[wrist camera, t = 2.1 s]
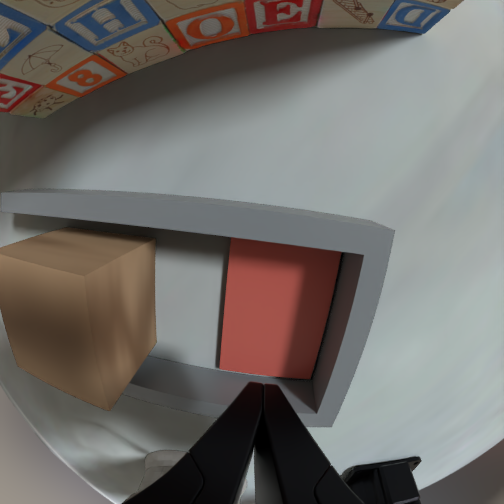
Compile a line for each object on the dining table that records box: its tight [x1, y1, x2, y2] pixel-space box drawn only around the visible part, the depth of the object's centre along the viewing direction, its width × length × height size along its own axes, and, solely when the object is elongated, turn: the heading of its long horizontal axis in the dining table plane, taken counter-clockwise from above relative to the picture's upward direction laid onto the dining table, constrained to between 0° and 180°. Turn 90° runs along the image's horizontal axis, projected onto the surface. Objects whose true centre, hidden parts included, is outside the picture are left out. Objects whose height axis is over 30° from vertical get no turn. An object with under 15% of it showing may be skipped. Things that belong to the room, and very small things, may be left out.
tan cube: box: [0, 227, 157, 411], centre depth 10 cm, size 6×6×6 cm
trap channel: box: [1, 189, 395, 427], centre depth 11 cm, size 10×18×2 cm, turn 83°
